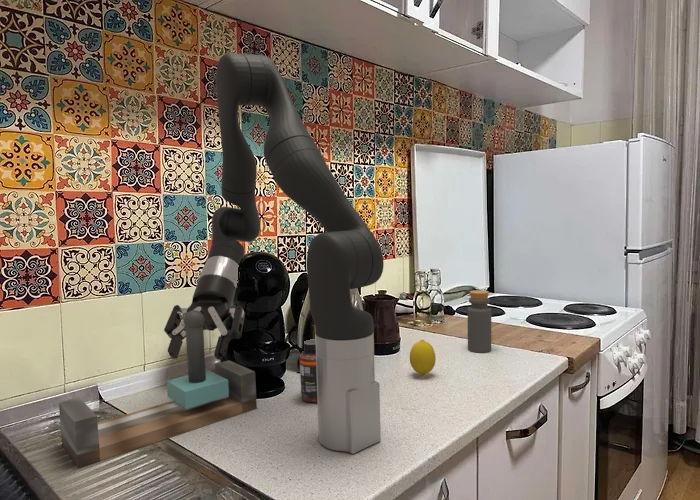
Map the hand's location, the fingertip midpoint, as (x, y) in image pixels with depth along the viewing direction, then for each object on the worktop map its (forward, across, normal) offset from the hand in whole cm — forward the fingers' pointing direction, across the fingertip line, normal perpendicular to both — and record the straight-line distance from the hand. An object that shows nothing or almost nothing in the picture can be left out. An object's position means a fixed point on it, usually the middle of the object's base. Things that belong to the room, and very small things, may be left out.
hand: (195, 357), depth 88 cm
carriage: (+5, 0, +6) cm, 7 cm away
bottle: (-23, +55, +39) cm, 72 cm away
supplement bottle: (+1, +20, +15) cm, 25 cm away
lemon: (-9, +41, +25) cm, 48 cm away
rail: (+11, -4, +5) cm, 12 cm away
